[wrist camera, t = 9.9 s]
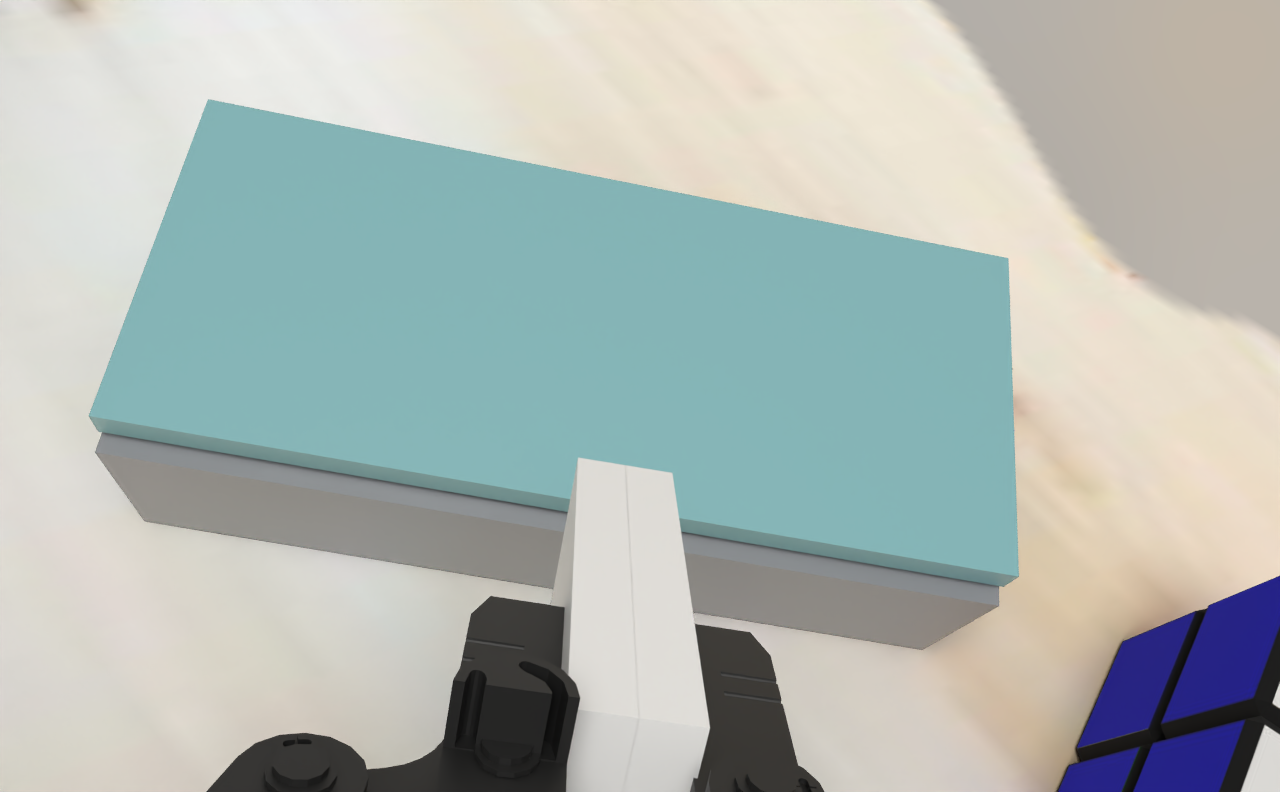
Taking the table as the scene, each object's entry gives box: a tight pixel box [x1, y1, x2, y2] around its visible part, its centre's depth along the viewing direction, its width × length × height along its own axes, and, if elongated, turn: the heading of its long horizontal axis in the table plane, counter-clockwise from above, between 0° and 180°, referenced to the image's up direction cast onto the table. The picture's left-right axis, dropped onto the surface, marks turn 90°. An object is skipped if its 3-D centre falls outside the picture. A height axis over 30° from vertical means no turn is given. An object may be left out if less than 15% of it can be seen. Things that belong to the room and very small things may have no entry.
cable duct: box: [95, 432, 999, 650], centre depth 38 cm, size 11×26×6 cm, turn 83°
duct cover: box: [89, 99, 1019, 587], centre depth 35 cm, size 11×26×1 cm, turn 83°
